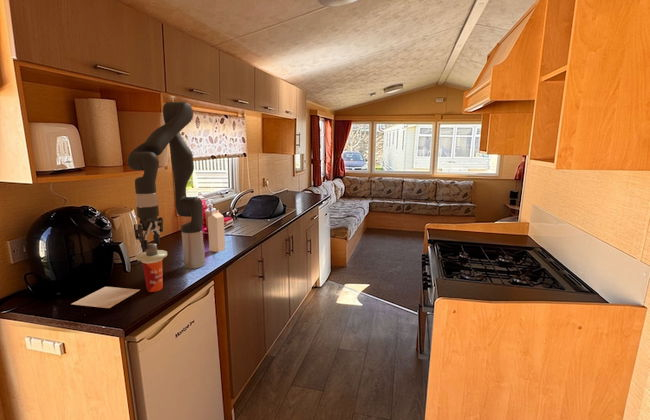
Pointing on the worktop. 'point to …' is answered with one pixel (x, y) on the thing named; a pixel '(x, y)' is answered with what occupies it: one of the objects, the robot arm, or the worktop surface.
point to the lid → (151, 253)
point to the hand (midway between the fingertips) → (151, 246)
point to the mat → (106, 297)
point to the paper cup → (153, 275)
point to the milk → (216, 231)
